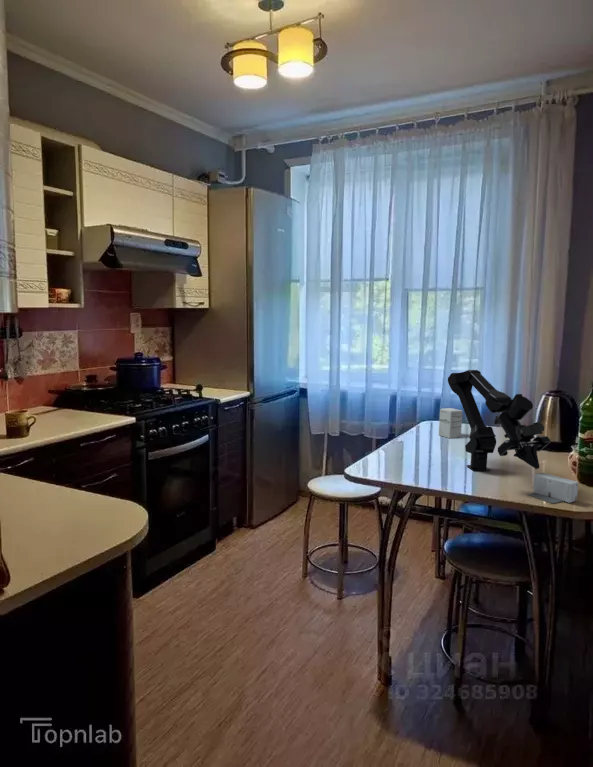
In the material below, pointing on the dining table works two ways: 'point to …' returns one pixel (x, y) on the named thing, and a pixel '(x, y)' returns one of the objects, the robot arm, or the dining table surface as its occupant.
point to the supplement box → (450, 422)
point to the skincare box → (555, 487)
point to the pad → (545, 498)
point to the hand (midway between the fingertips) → (537, 468)
